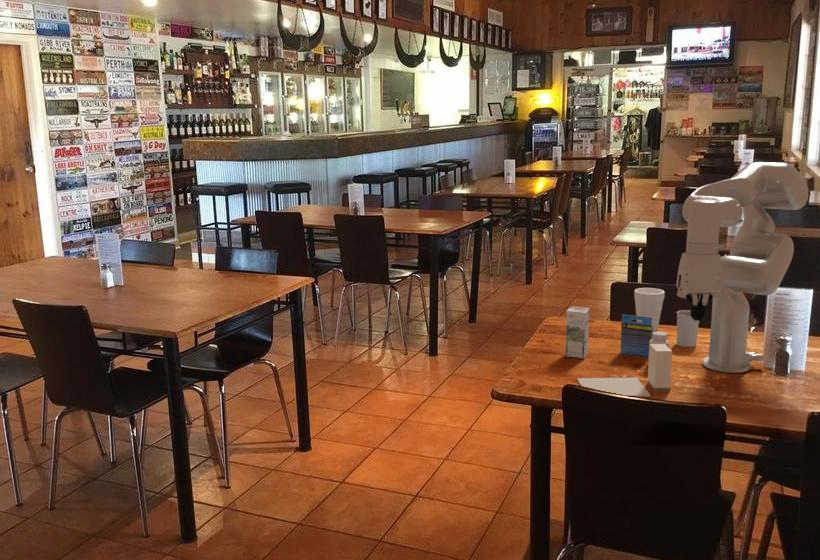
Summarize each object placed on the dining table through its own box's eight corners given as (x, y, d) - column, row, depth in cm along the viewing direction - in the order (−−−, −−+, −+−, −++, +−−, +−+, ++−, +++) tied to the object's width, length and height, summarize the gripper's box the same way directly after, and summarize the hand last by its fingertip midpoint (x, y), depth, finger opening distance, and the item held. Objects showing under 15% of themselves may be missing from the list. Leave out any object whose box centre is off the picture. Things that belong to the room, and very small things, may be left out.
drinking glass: (699, 347, 228) (702, 316, 225) (677, 347, 229) (679, 315, 226) (695, 341, 234) (697, 310, 232) (673, 340, 235) (675, 310, 233)
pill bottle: (643, 364, 214) (645, 331, 212) (659, 361, 216) (661, 329, 213) (656, 370, 209) (658, 336, 207) (671, 367, 211) (673, 334, 208)
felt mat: (636, 378, 202) (636, 377, 202) (650, 396, 189) (650, 395, 189) (577, 379, 202) (577, 378, 202) (587, 397, 190) (587, 395, 190)
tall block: (662, 383, 199) (664, 343, 196) (669, 391, 193) (672, 350, 190) (647, 383, 199) (649, 344, 196) (654, 391, 193) (656, 351, 190)
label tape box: (652, 353, 223) (654, 314, 220) (650, 357, 219) (652, 317, 217) (622, 350, 227) (624, 311, 224) (619, 354, 223) (621, 314, 220)
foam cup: (643, 323, 254) (645, 286, 252) (667, 329, 248) (670, 291, 245) (627, 328, 249) (629, 291, 246) (651, 334, 242) (653, 295, 239)
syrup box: (588, 353, 224) (589, 307, 221) (584, 359, 219) (585, 312, 215) (569, 351, 226) (570, 305, 223) (564, 357, 221) (566, 310, 218)
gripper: (726, 246, 191) (720, 315, 195) (667, 246, 191) (662, 315, 195) (738, 251, 184) (732, 323, 187) (677, 251, 184) (672, 323, 188)
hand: (696, 319), depth 191 cm, fingers closed
